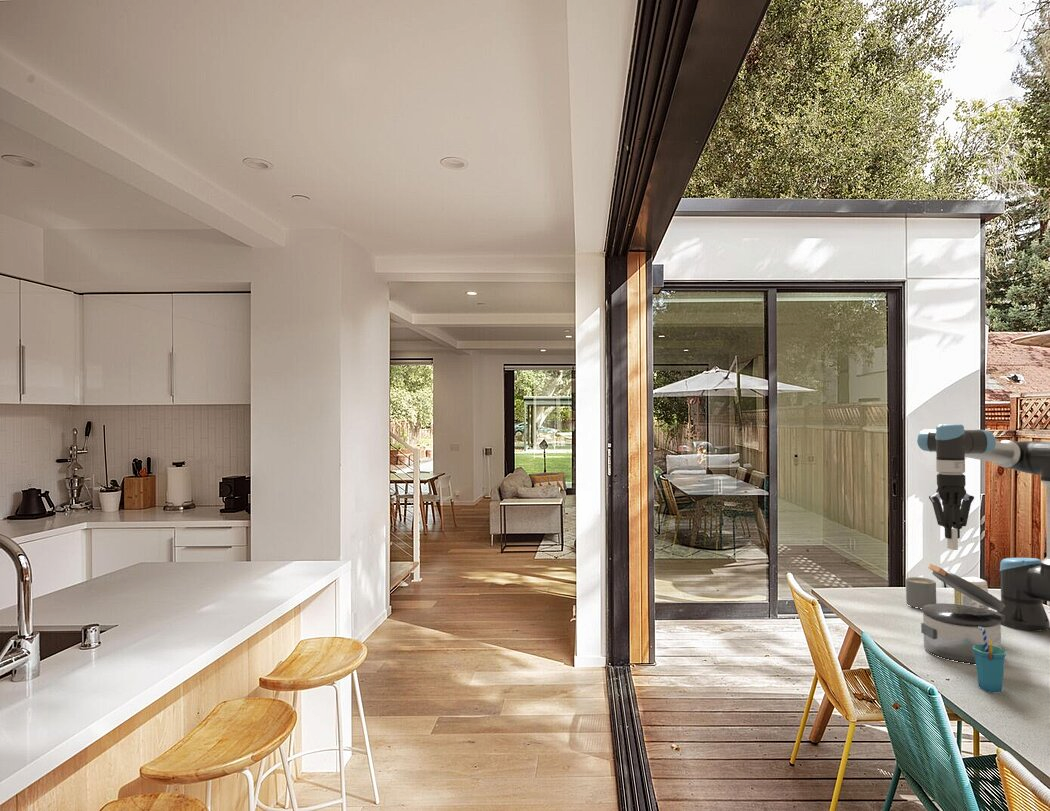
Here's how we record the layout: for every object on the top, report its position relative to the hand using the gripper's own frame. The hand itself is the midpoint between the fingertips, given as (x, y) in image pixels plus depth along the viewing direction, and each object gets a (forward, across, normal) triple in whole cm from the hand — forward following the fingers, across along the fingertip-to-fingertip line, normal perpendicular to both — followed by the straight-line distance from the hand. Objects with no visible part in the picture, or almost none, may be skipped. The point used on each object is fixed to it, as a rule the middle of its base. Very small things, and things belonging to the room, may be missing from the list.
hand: (952, 548), depth 201 cm
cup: (+33, -7, -25) cm, 42 cm away
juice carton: (+33, +16, +16) cm, 40 cm away
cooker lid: (+13, +3, 0) cm, 13 cm away
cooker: (+33, +2, 0) cm, 33 cm away
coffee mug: (+33, +20, +51) cm, 64 cm away
